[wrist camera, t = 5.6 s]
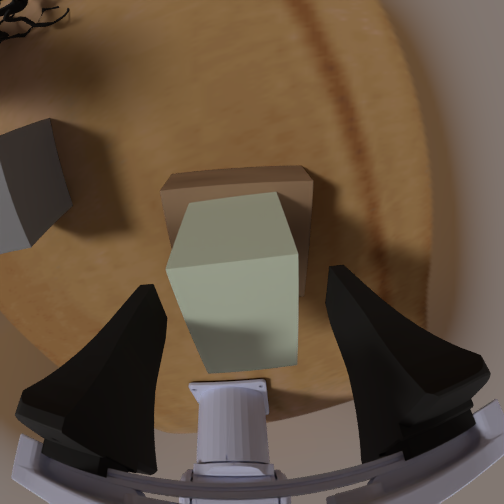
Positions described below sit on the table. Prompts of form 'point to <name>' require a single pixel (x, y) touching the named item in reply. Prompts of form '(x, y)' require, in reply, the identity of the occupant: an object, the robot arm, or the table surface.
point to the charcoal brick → (30, 186)
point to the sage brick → (238, 282)
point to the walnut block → (246, 183)
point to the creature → (16, 6)
